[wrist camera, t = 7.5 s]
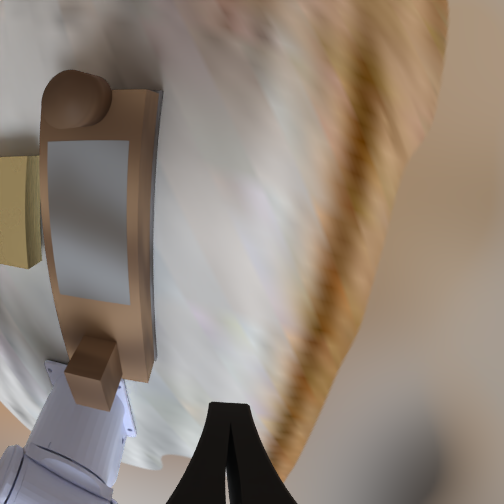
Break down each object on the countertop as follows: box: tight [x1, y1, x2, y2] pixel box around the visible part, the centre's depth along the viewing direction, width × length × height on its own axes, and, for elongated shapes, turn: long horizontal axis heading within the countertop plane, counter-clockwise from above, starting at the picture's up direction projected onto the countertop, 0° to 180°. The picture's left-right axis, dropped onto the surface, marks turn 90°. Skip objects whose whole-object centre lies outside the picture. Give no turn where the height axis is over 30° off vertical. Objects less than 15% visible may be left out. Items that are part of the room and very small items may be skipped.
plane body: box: [39, 70, 163, 412], centre depth 15 cm, size 19×6×6 cm, turn 173°
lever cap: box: [0, 156, 42, 269], centre depth 15 cm, size 7×4×2 cm, turn 172°
